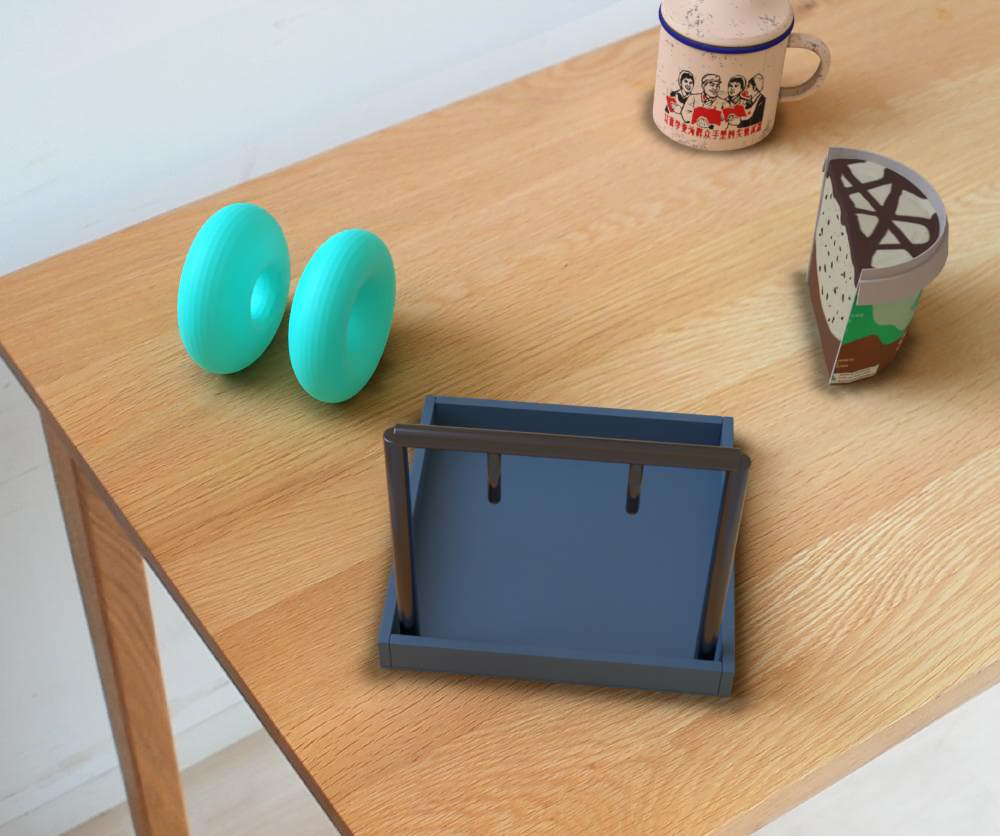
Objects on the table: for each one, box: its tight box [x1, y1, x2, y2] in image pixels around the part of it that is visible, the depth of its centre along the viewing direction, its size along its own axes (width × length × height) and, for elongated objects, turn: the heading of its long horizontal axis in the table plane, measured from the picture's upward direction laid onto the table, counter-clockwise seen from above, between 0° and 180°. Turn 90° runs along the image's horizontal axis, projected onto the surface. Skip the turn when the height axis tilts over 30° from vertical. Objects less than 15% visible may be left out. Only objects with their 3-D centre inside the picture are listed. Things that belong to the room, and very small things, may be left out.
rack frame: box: [382, 422, 753, 661], centre depth 66 cm, size 15×1×16 cm, turn 84°
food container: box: [805, 145, 950, 386], centre depth 85 cm, size 12×6×10 cm, turn 0°
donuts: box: [176, 202, 397, 404], centre depth 83 cm, size 10×10×10 cm
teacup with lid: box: [652, 0, 832, 152], centre depth 99 cm, size 12×9×12 cm
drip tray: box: [376, 394, 736, 698], centre depth 76 cm, size 17×17×3 cm
